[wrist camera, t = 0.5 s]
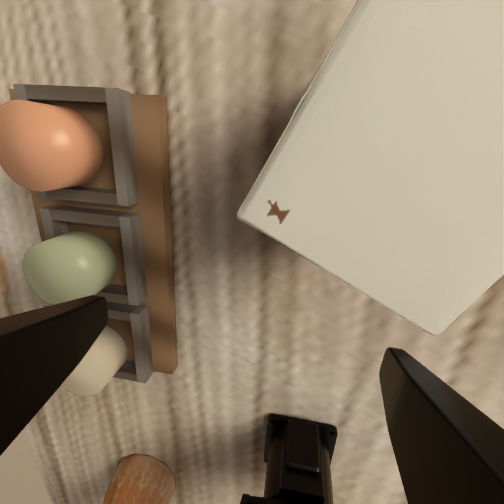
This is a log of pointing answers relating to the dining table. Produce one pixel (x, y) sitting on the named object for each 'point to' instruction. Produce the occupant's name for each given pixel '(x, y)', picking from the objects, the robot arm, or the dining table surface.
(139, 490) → the vase
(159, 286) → the brown compartment tray
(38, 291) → the sage green rounded piece
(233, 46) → the dining table surface
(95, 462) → the dining table surface
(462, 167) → the supplement box
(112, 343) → the cream button
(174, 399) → the dining table surface
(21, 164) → the terracotta button
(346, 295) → the dining table surface
